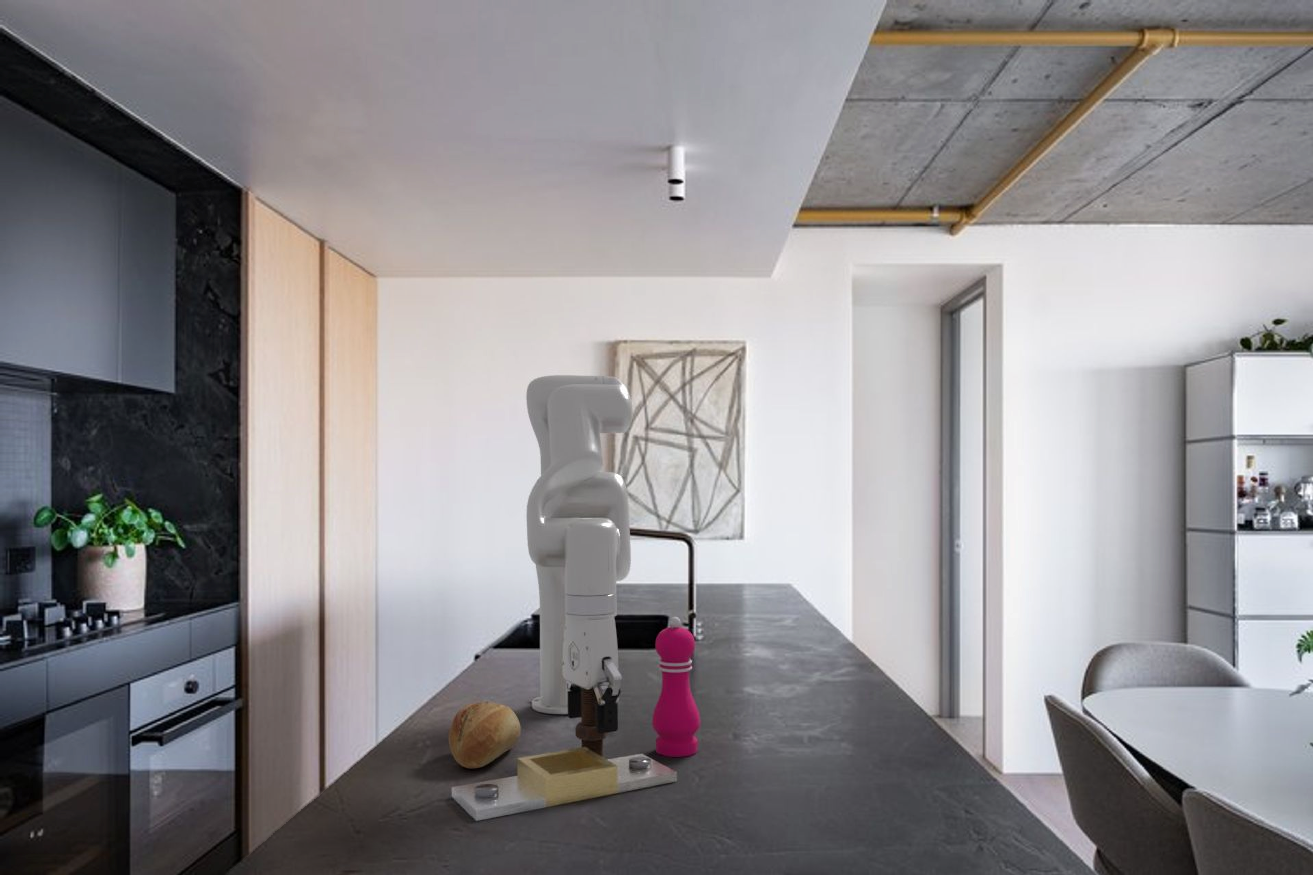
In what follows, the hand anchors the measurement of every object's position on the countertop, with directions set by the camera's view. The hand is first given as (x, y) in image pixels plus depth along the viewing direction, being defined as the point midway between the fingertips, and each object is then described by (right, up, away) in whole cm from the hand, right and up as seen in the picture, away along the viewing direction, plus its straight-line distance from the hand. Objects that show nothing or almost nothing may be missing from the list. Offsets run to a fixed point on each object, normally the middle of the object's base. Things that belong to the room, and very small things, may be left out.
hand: (592, 724), depth 133 cm
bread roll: (-16, -6, +2) cm, 17 cm away
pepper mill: (+12, -6, +4) cm, 14 cm away
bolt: (0, -6, 0) cm, 6 cm away
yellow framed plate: (-3, -5, -12) cm, 13 cm away
